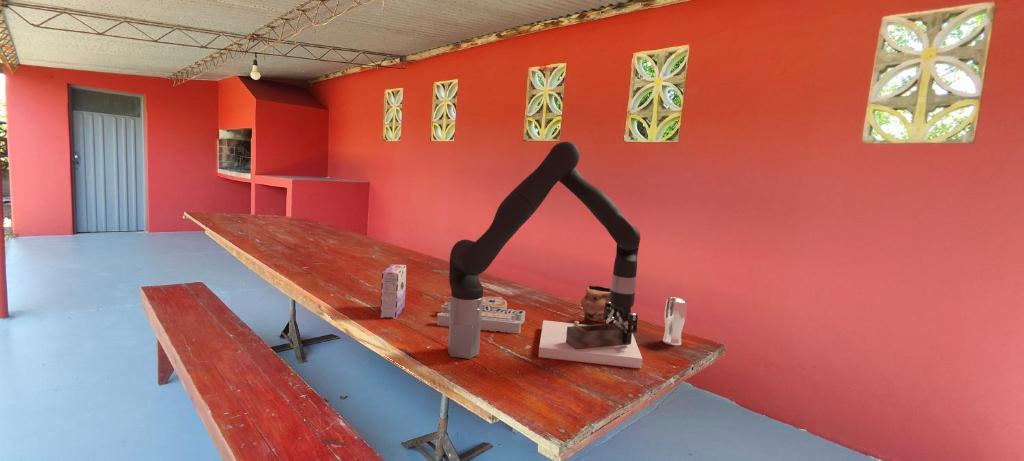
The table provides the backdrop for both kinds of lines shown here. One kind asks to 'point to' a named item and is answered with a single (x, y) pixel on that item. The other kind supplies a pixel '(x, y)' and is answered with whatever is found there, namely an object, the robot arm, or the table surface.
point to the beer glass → (674, 320)
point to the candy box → (393, 291)
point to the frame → (595, 335)
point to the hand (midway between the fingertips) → (617, 339)
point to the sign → (491, 316)
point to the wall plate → (559, 349)
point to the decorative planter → (595, 304)
